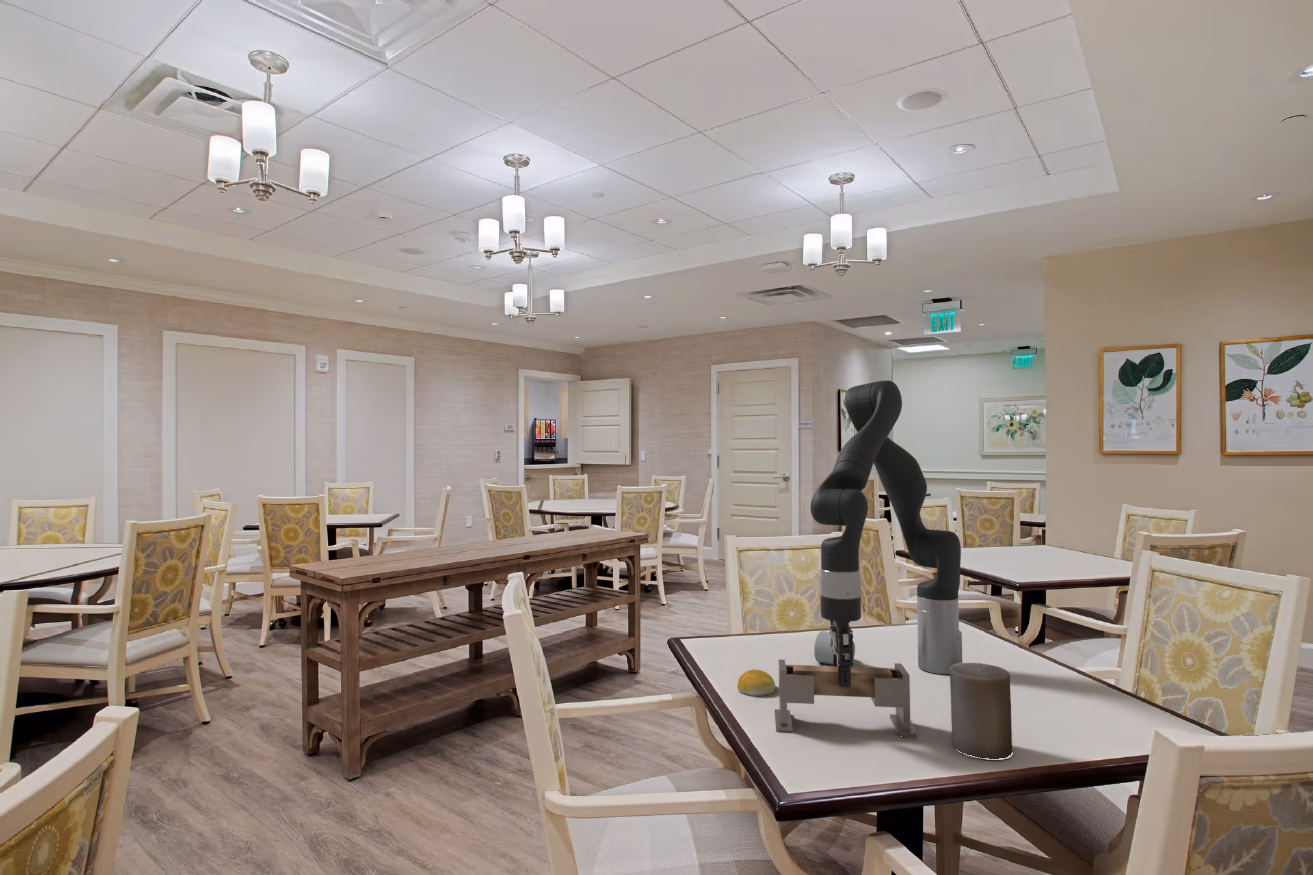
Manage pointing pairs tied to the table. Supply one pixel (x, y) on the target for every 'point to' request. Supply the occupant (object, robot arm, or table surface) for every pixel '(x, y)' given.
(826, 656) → the ceramic mug
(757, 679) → the bread roll
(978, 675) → the pillar candle
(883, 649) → the table surface
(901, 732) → the brackets
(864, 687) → the rail
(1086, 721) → the table surface
